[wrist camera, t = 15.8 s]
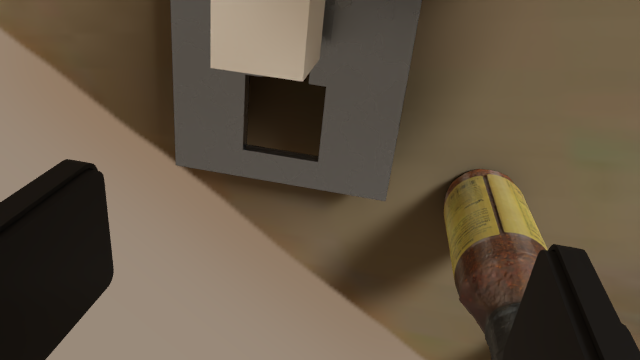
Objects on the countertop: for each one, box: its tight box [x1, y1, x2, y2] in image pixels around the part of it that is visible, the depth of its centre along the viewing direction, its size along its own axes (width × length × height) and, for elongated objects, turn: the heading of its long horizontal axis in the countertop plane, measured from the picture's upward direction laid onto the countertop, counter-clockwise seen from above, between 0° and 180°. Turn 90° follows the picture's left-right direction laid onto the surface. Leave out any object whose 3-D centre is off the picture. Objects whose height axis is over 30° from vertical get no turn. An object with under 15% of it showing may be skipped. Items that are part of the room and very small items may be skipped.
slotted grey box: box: [170, 0, 422, 201], centre depth 37 cm, size 17×16×6 cm
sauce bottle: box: [444, 169, 547, 360], centre depth 34 cm, size 7×6×20 cm
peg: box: [211, 0, 325, 82], centre depth 32 cm, size 5×5×14 cm
